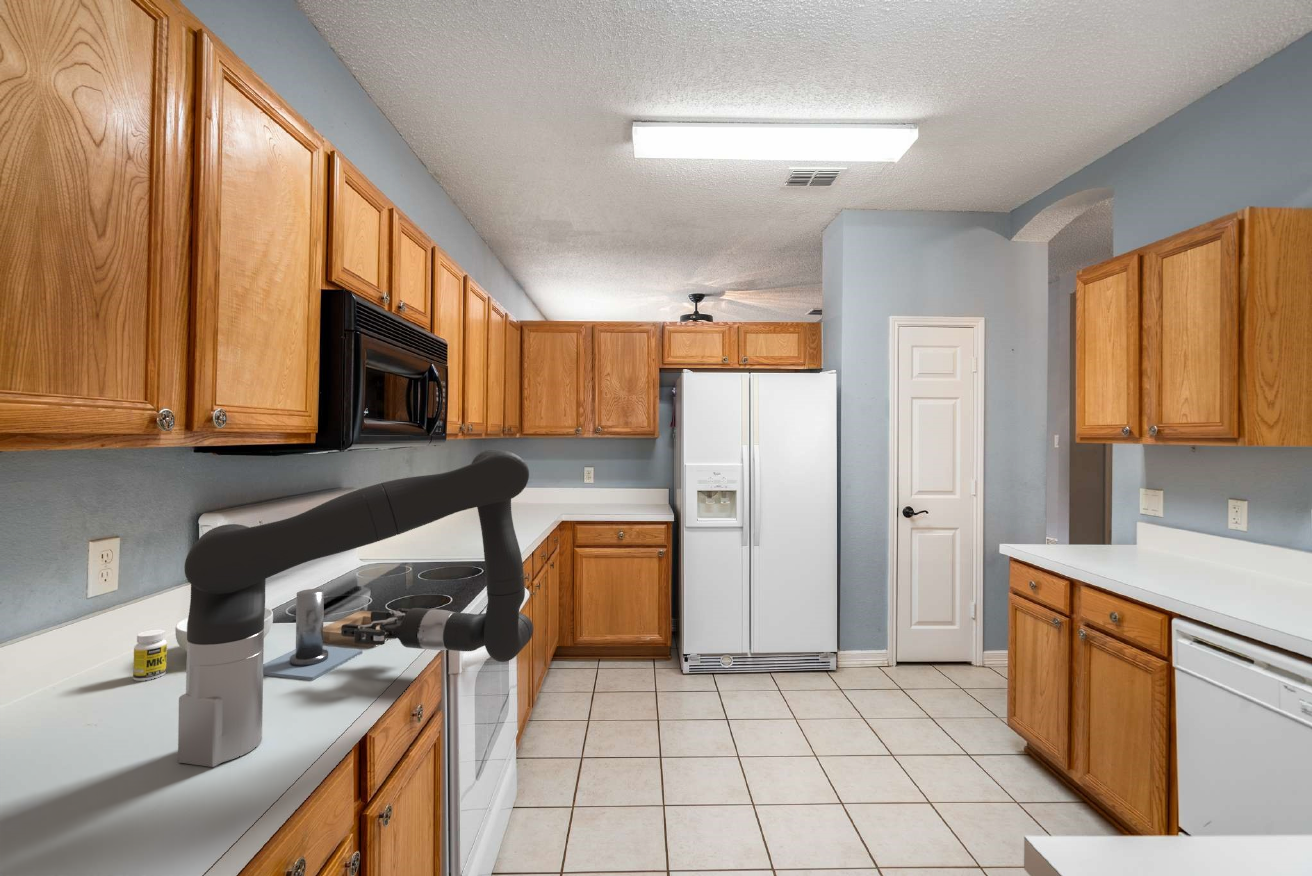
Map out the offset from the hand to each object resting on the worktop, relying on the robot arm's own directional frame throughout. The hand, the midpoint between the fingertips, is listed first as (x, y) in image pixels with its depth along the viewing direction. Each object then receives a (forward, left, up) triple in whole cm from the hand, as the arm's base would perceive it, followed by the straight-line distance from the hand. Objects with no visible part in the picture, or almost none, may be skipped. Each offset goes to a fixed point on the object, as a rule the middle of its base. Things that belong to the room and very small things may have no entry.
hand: (357, 622), depth 115 cm
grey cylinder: (0, +11, -9) cm, 14 cm away
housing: (+18, +11, -9) cm, 23 cm away
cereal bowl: (+2, +33, -9) cm, 34 cm away
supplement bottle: (-12, +35, -9) cm, 38 cm away
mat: (0, +11, -9) cm, 14 cm away
